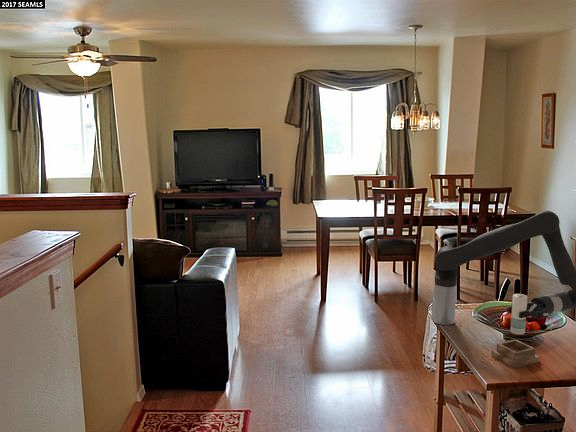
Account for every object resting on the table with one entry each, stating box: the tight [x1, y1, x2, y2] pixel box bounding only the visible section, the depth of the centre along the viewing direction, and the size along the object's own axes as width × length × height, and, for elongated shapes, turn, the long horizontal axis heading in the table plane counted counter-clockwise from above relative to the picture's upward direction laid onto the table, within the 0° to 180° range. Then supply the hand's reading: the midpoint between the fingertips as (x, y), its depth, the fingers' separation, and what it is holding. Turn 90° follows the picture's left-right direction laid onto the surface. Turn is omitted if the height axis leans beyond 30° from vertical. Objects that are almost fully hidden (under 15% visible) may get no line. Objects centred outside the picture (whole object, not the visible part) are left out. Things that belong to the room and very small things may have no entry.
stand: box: [490, 338, 541, 369], centre depth 218 cm, size 12×12×5 cm
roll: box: [510, 293, 528, 335], centre depth 215 cm, size 5×5×14 cm
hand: (513, 312), depth 214 cm, fingers closed on roll, 5 cm apart
